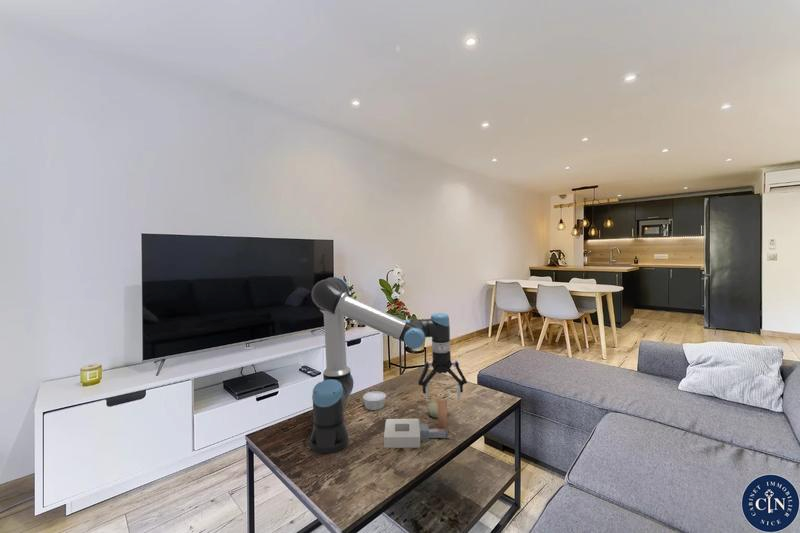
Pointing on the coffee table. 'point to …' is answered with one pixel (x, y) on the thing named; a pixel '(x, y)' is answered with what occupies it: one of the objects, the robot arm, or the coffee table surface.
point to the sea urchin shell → (434, 410)
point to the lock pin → (438, 433)
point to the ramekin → (374, 400)
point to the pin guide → (424, 432)
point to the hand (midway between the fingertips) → (443, 400)
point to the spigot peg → (442, 413)
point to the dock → (402, 433)
